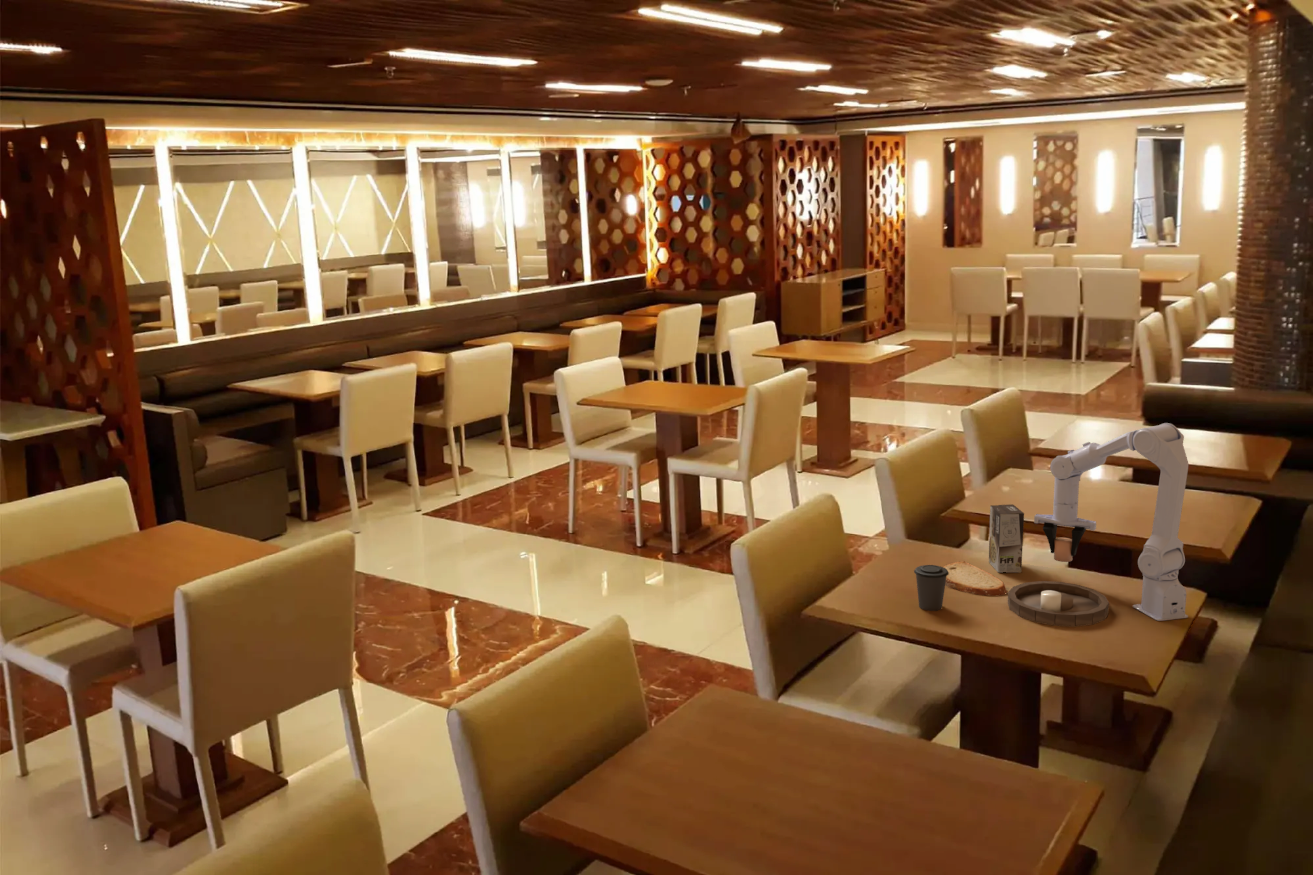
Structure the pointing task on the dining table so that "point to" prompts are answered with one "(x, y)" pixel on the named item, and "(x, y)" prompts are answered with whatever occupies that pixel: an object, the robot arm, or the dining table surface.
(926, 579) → the coffee cup
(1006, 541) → the coffee box
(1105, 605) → the groove tray
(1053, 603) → the translucent white cylinder
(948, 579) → the bread slice
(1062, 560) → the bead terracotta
